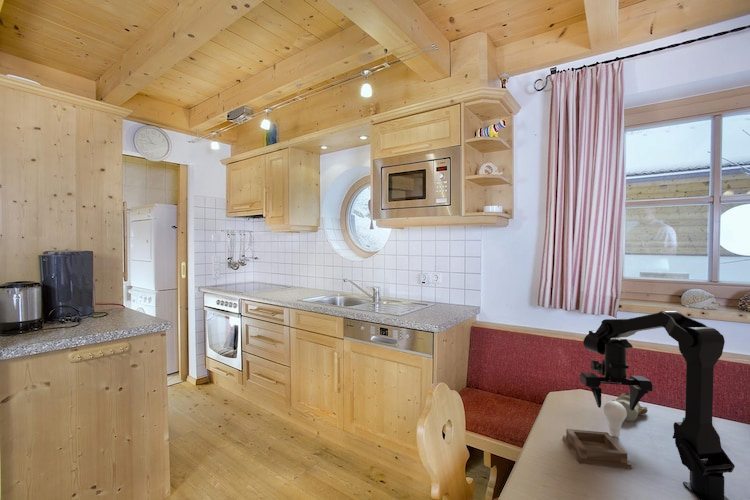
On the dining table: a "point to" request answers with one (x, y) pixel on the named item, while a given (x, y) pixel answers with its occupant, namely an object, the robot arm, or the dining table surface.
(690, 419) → the robot arm
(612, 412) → the lightbulb
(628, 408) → the ceramic sculpture
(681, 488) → the dining table surface
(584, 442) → the bulb holder
